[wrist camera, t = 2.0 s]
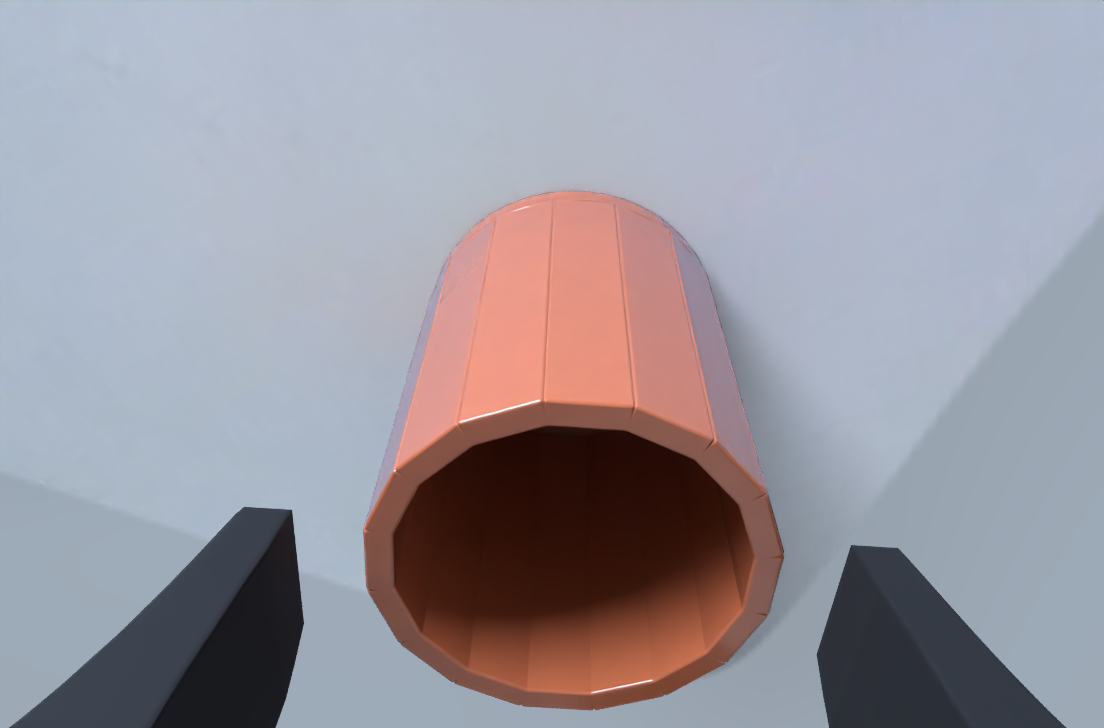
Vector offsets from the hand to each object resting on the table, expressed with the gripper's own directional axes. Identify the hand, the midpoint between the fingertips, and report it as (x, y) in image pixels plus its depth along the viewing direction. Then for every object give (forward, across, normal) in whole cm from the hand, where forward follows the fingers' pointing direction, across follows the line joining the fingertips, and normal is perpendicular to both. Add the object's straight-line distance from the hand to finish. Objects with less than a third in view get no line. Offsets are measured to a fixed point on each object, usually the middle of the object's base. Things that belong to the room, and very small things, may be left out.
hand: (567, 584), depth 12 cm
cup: (+7, 0, 0) cm, 7 cm away
